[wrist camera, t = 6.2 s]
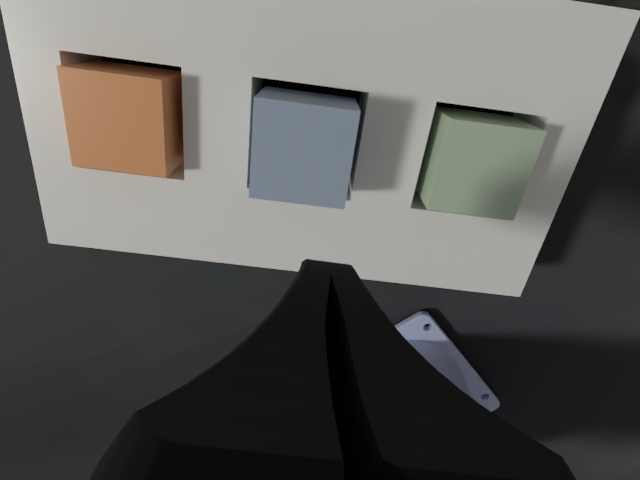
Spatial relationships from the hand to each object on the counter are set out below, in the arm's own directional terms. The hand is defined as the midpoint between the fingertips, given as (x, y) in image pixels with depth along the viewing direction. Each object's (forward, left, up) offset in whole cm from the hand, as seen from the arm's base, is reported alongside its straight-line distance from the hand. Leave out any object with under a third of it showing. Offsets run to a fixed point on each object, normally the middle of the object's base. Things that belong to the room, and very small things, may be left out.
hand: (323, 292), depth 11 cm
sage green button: (-3, -6, -9) cm, 11 cm away
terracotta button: (+7, +4, -9) cm, 12 cm away
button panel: (+2, -1, -10) cm, 10 cm away
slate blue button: (+2, -1, -8) cm, 8 cm away
